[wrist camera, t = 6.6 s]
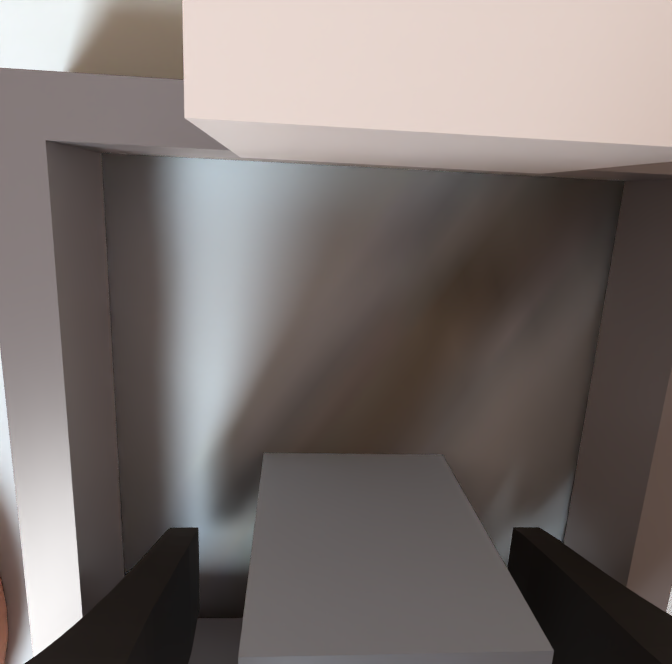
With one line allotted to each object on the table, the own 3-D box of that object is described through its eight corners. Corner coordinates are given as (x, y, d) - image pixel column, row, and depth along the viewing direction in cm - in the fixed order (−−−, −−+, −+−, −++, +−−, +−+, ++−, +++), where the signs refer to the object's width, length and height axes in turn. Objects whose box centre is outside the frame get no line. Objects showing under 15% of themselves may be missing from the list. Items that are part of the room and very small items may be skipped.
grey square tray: (583, 637, 15) (830, 1018, 8) (87, 646, 14) (-120, 1094, 7) (679, 130, 12) (1224, 35, 5) (44, 90, 10) (-416, -104, 4)
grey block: (426, 604, 14) (514, 878, 9) (261, 606, 14) (237, 893, 8) (441, 453, 13) (554, 650, 8) (263, 452, 13) (238, 657, 7)
